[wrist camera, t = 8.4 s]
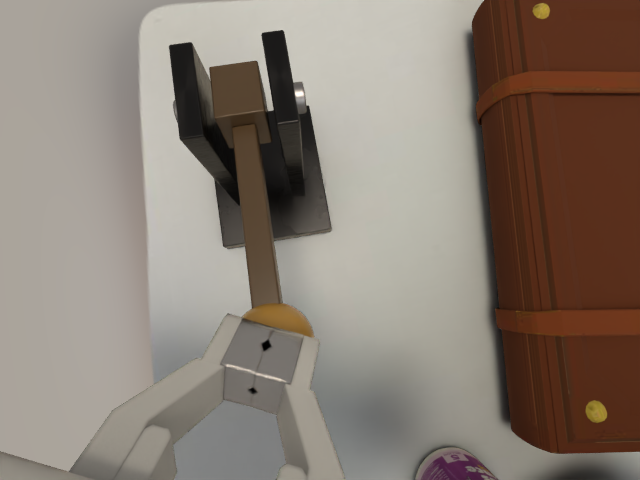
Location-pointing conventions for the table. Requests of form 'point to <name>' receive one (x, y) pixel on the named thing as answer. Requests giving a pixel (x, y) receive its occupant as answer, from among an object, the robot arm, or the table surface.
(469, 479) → the pill bottle
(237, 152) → the lever
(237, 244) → the black lever stand
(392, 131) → the table surface
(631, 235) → the book
